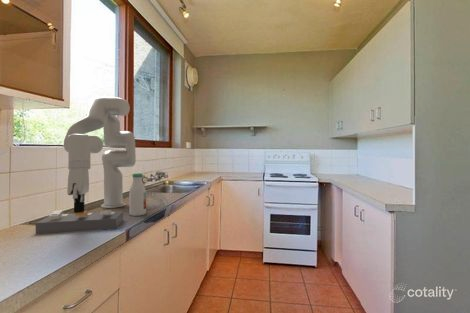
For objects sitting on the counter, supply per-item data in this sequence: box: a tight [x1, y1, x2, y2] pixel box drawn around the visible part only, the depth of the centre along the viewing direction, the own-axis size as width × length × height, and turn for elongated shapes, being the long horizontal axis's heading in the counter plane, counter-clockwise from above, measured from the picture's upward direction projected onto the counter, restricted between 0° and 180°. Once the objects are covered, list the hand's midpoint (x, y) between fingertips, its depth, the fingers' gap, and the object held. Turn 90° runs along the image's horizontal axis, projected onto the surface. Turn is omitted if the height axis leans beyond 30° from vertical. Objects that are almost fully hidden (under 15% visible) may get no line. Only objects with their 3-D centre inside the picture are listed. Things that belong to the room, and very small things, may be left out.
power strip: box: [35, 210, 124, 234], centre depth 107 cm, size 14×28×4 cm, turn 103°
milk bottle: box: [128, 173, 147, 217], centre depth 128 cm, size 8×8×20 cm
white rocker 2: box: [99, 209, 112, 214], centre depth 108 cm, size 5×3×2 cm, turn 13°
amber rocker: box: [75, 210, 89, 216], centre depth 105 cm, size 5×3×2 cm, turn 13°
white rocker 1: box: [48, 209, 64, 219], centre depth 103 cm, size 5×3×2 cm, turn 13°
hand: (79, 212), depth 103 cm, fingers closed
